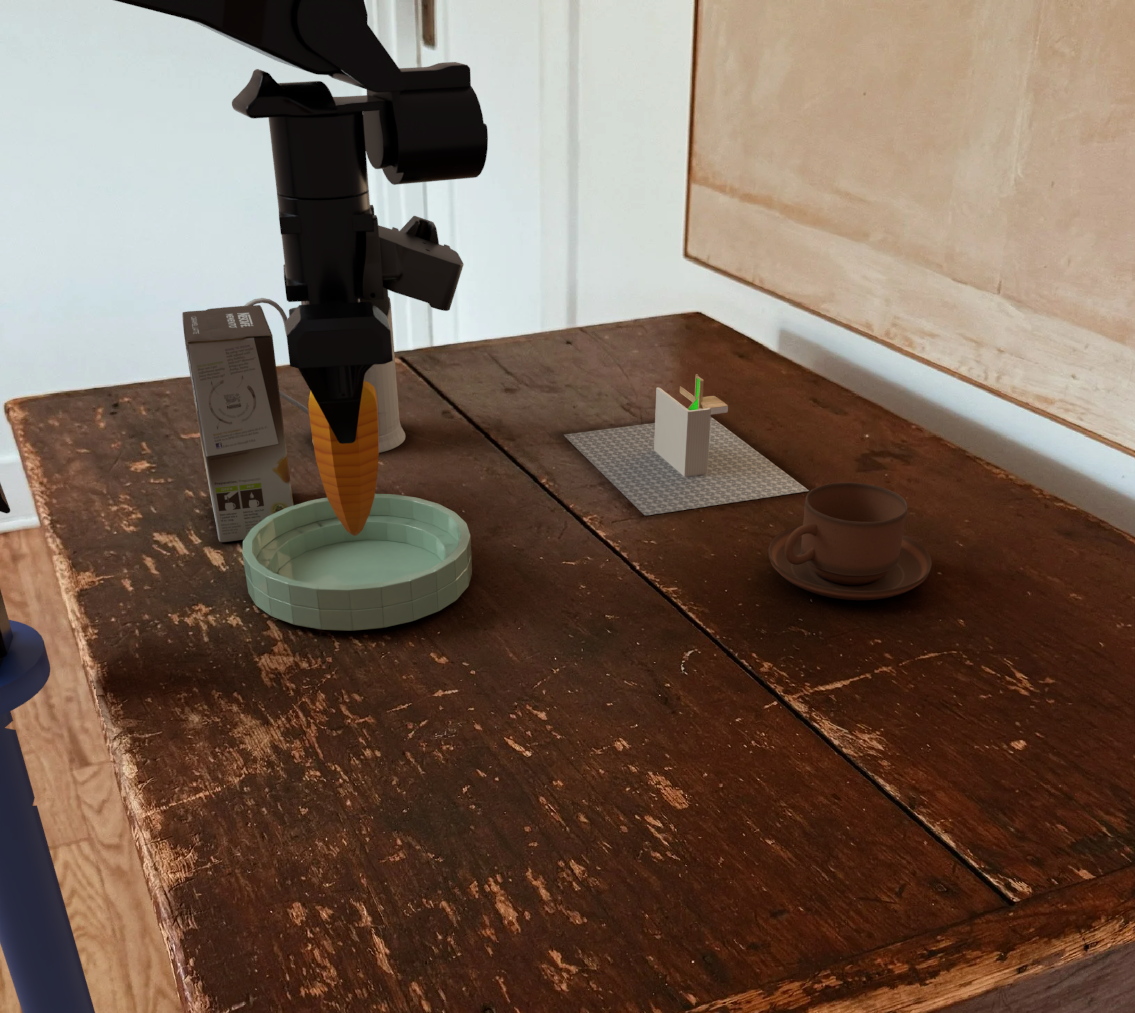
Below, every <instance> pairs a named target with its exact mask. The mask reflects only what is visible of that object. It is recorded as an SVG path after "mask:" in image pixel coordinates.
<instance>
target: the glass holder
mask: <svg viewBox="0 0 1135 1013" xmlns="http://www.w3.org/2000/svg"><path fill="white" fill-rule="evenodd" d="M383 293H384V299H383V300H365V299H360V302H372V303H373V304H374V305H375V306H376V307H377V308H378V309H379V310H380V311H382V312H383V313H384V314H385V315H386V316H387V320H388V323H389V327H390V330H391V343H392V357H393V361H391V362H388V363H386V364H377V365H373V366H372V367H371V368H370V369H369V370H368V371H367V372H366V373H365V376H364V381H367V382H369V383H370V384H371V385H373V386H374V388H375V391H376V395H377V409H378V436H379V454H380V453H385V452H388V451H390V450H393V449H395V448H398V447H399V446H400V445H402V444H403V443H404V442H405V440H406V433H405V431H404V429H403V427H402V425H401V422H400V411H399V410H400V409H399V395H398V382H397V371H396V370H397V369H396V356H395V342H394V341H395V340H394V329H393V328H394V327H393V314H392V313H393V312H392V303H391V298H390V297H389V290H387V289H385V288H384V287H383ZM259 304H268V305H270V306H271V307H273V308H275V310H276V311H278V313H279V315H280V317H281V319H282V323H283V328H284V332H285V336H286V337H287V334H286V320H287V319H288V317H287V314H286V312H285V311H284V309H283V308H282V306H280V305H279V304H278V303H277V302H276V301H274V300H272V299H270V298H265V297H259V298H254V299H252V300H249V301H248V302H246V303H245V304H244V305H243V306H253V305H259ZM279 393H280V398H282V399H284V400H285V401H287V402H288V403H290V404H291V405H293V406H295V408H298V409H299V410H301V411H302V412H303V413H305V414H306V415H308V416H309V409H308V408H307V407H306V406H305V405H303V404H302V403H301V402H299V401H298V400H296V399H294V398H292V397H291V396H290V395H287V394H286V393H284V392H283V391H281V390H280V389H279ZM312 445H313V446H314V444H313V438H312Z"/></svg>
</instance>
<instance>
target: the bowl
mask: <svg viewBox="0 0 1135 1013" xmlns="http://www.w3.org/2000/svg"><path fill="white" fill-rule="evenodd" d="M241 554H242V560H243V567H244V573H245V581H246V587H247V592H248V595H249V596H250V598H251V600H252V601H253V603H254V605H255V606H256V607H257V608H259V609H260V610H262V611H263V612H265V613H266V614H267V615H269V616H270V617H272V618H275V619H277V620H281V621H283V622H284V623H285V622H286V623H288V624H291V625H294V626H298V627H304V628H310V629H315V630H323V631H351V632H352V631H363V630H375V629H384V628H388V627H392V626H393V627H394V626H397V625H403V624H406V623H412V622H415V621H417V620H420V619H423V618H425V617H428V616H430V615H433V614H435V613H438V612H440V611H442V610H443V609H445V608H446V607H449V605H451V604H453V603H455V602H456V601H457V600H458V599H459V598H460V597H461V596H462V594H463V593H464V592H465V591H466V590H467V589H468V587H469V585H470V582H471V578H472V576H473V564H472V563H473V560H472V541H471V533H470V529H469V526H468V524H467V522H466V521H465V520H464V519H463V518H462V517H461V516H460V515H459V514H458V513H457V512H455V511H453V510H452V509H449V508H447V507H446V506H444V505H442V504H440V503H437V502H434V501H430V500H427V499H424V498H419V497H415V496H409V495H401V494H394V493H375V497H374V501H373V504H372V507H371V511H370V514H369V516H368V519H367V521H366V523H365V525H364V528H363V530H362V531H361V532H360V533H359V534H358V535H357V536H353V535H352V534H350V533H349V532H348V531H346V529H345V528H344V526H343V525H342V523H341V522H340V520H339V519H338V518H337V516H336V514H335V512H334V510H333V508H332V506H331V505H330V503H329V501H328V498H327V497H321V498H316V499H311V500H308V501H304V502H300V503H297V504H293V506H291V507H287V508H285V509H283V510H280V511H278V512H276V513H274V514H272V515H270V516H268V517H266V518H265V519H263V520H262V521H261V522H259V523H258V524H257V525H255V526H254V527H253V528H252V529H251V530H250V531H249V533H248V535H247V536H246V538H245V539H244V540H242V552H241Z"/></svg>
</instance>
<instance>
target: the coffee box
mask: <svg viewBox="0 0 1135 1013" xmlns="http://www.w3.org/2000/svg"><path fill="white" fill-rule="evenodd" d="M181 318H182V328H183V337H184V344H185V352H186V357H187V363H188V371H189V376H190V382H191V388H192V389H191V390H192V395H193V401H194V402H193V403H194V408H195V413H196V419H197V425H198V431H199V438H200V445H201V449H202V455H203V456H202V457H203V461H204V462H203V463H204V467H205V474H206V478H207V479H206V480H207V483H208V489H209V495H210V500H211V506H212V511H213V517H214V521H215V525H216V526H215V528H216V532H217V538H218V541H219V543H229V542H236V541H244V539H245V538H246V536H247V535H248V533H249V531H250V530H251V529H252V528H253V527H254V526H255V525H257V524H258V523H259V522H261V521H262V520H263V519H265V518H266V517H268V516H270V515H272V514H274V513H276V512H278V511H280V510H283V509H285V508H287V507H291V506H294V500H293V490H292V483H291V482H292V481H291V476H290V467H289V466H290V465H289V459H288V451H287V450H288V449H287V442H286V435H285V425H284V419H283V417H284V416H283V409H282V408H283V407H282V401H281V396H280V393H279V390H280V386H279V379H278V370H277V362H276V354H275V347H274V339H273V338H274V337H273V333H272V331H271V330H272V329H271V328H270V325H269V323H268V320H267V317H266V314H265V313H264V310H263V306H261V304H255V305H253V306H244V305H237V306H236V305H235V306H225V307H224V306H223V307H215V308H213V307H212V308H207V309H205V310H204V309H203V310H189V311H183V312H182V313H181Z"/></svg>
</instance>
